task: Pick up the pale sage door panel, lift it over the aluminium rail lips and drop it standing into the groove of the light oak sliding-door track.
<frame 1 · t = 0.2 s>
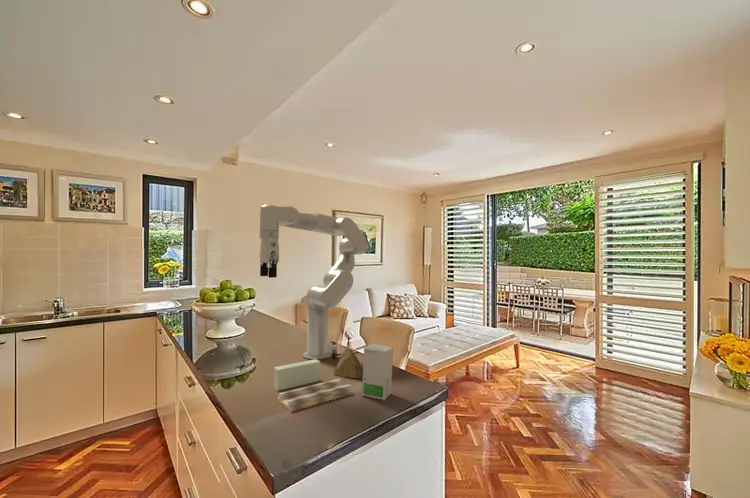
hand: (268, 276, 139), 36 cm above the counter, tool pointing down, fingers open, 9 cm apart
door panel: (297, 384, 120), on the counter
bottom track: (316, 396, 109), on the counter
skincare box: (377, 395, 111), on the counter
rock: (348, 376, 128), on the counter
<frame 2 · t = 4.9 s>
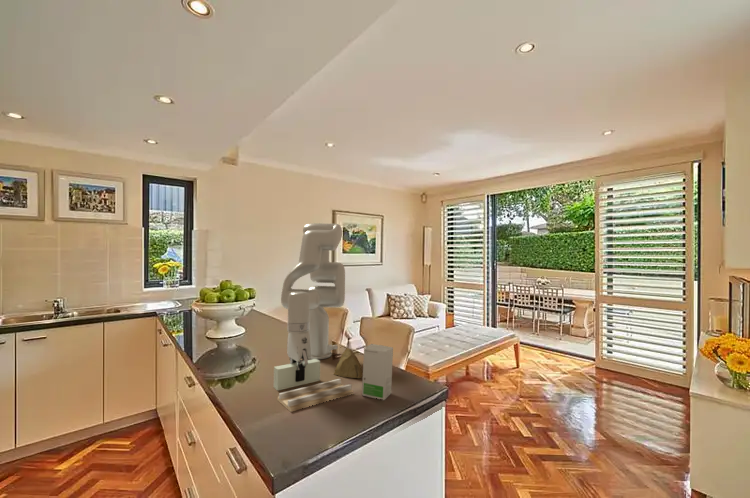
hand: (297, 378, 119), 2 cm above the counter, tool pointing down, fingers closed on door panel, 3 cm apart
door panel: (297, 383, 119), on the counter, touching gripper
everything else where it was.
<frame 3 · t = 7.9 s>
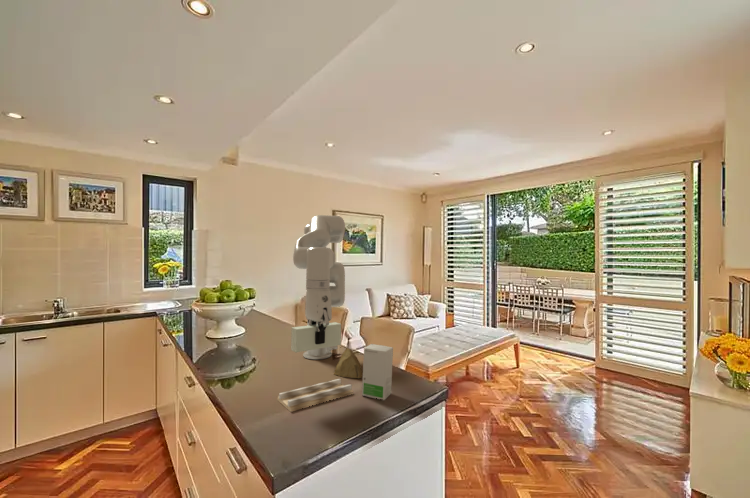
hand: (316, 341, 109), 18 cm above the counter, tool pointing down, fingers closed on door panel, 3 cm apart
door panel: (316, 347, 109), point 16 cm above the counter, touching gripper
everything else where it was.
when the fingers open (4 cm above the counter, at t = 11.2 s): door panel stays where it is, resting on bottom track.
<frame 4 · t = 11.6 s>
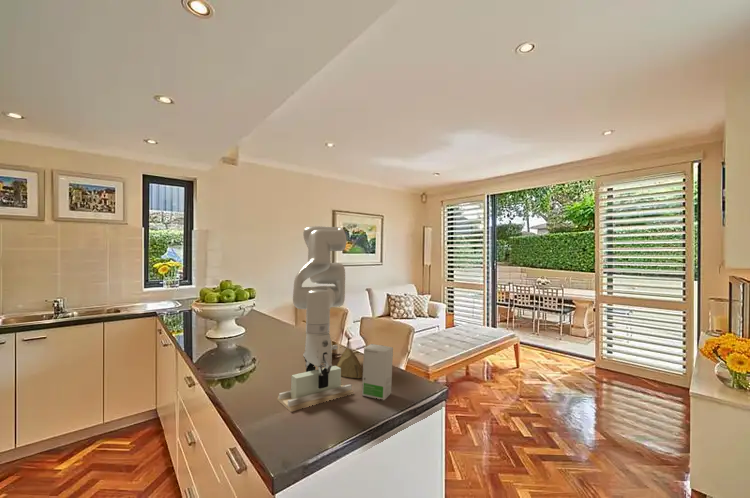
hand: (316, 383, 109), 4 cm above the counter, tool pointing down, fingers open, 7 cm apart
door panel: (316, 393, 109), point 1 cm above the counter, touching bottom track
everything else where it was.
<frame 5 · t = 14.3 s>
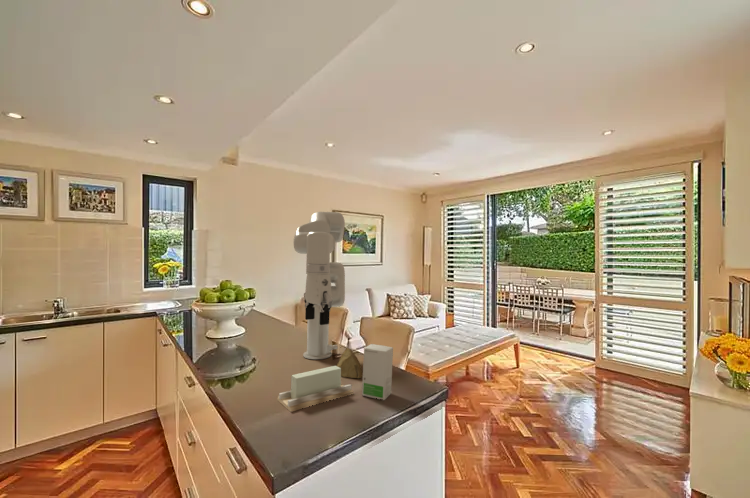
hand: (316, 321, 111), 24 cm above the counter, tool pointing down, fingers open, 9 cm apart
nothing on the counter moved.
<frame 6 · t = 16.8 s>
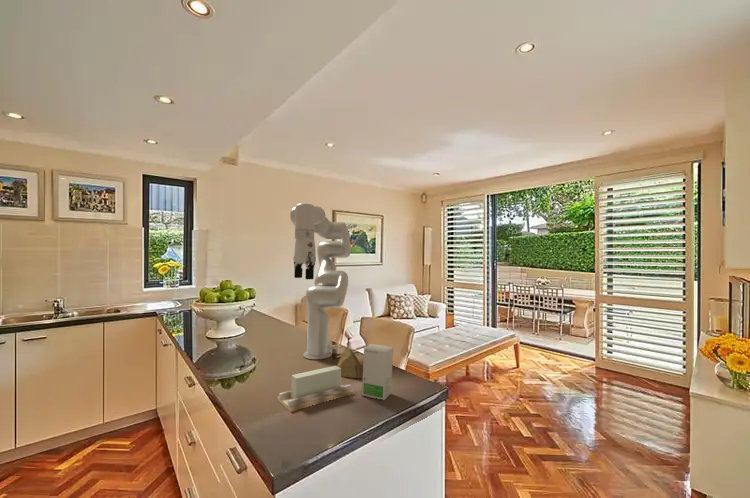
hand: (303, 278, 133), 36 cm above the counter, tool pointing down, fingers open, 9 cm apart
nothing on the counter moved.
at the end: door panel 0.1 cm off-centre on the bottom track, point 1.0 cm above the bottom track's base; door panel tilted 0°; the gripper is holding nothing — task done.
